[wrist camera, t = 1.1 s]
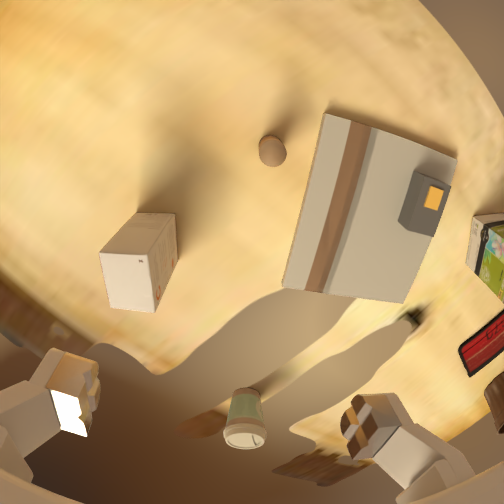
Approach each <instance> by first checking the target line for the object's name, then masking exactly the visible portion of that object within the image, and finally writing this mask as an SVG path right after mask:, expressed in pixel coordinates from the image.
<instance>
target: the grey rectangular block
mask: <svg viewBox="0 0 504 504" xmlns="http://www.w3.org/2000/svg"><path fill="white" fill-rule="evenodd" d="M450 189H451V186H450V185H448V184H446V183H445V182H443V181H441V180H439V179H436V178H433V177H431V176H428V175H425V174H422V173H420V172H417V171H414V170H413V173H412V177H411V180H410V183H409V187H408V190H407V193H406V196H405V200H404V203H403V206H402V209H401V212H400V215H399V218H398V222H399V223H400V224H401V225H402V226H403V227H404V228H405V229H406V230H408V231H412V232H416V233H419V234H423V235H427V236H431V237H434V234H435V232H436V229H437V227H438V224H439V221H440V218H441V216H442V213H443V210H444V207H445V204H446V201H447V198H448V195H449V192H450Z"/></svg>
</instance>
